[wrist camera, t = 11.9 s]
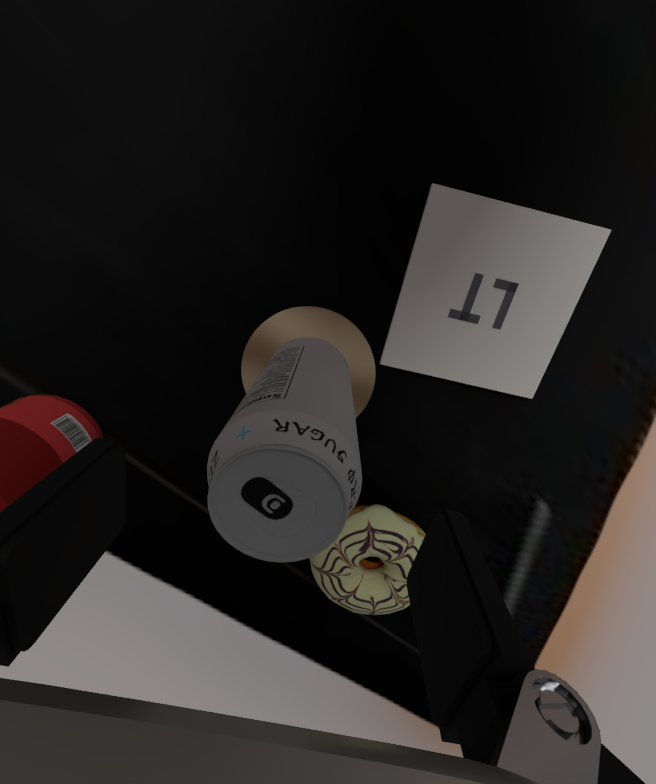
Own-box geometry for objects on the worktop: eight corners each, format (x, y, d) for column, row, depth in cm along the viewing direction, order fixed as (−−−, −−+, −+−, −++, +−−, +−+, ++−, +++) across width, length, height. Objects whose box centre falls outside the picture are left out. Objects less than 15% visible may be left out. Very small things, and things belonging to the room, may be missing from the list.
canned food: (14, 377, 27) (-182, 447, 17) (116, 412, 28) (-11, 499, 18) (7, 456, 30) (-166, 558, 20) (101, 486, 31) (-18, 600, 20)
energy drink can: (311, 425, 27) (285, 599, 13) (252, 374, 26) (154, 509, 12) (366, 373, 26) (402, 509, 12) (307, 316, 24) (267, 392, 10)
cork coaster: (253, 291, 25) (251, 292, 24) (390, 323, 25) (392, 325, 25) (235, 417, 28) (233, 420, 27) (356, 443, 29) (356, 447, 28)
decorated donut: (371, 474, 30) (376, 502, 26) (451, 545, 32) (465, 579, 29) (290, 541, 33) (284, 575, 29) (369, 602, 35) (373, 640, 31)
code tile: (431, 184, 22) (432, 183, 22) (607, 230, 23) (611, 229, 22) (379, 363, 26) (379, 364, 26) (529, 397, 27) (532, 398, 27)
